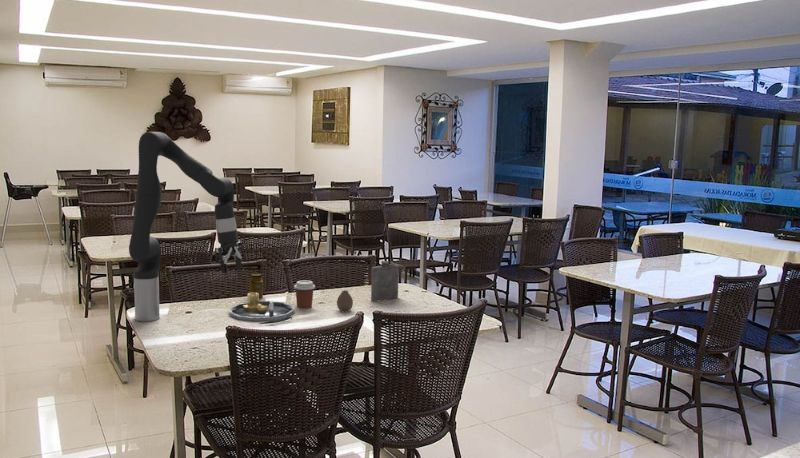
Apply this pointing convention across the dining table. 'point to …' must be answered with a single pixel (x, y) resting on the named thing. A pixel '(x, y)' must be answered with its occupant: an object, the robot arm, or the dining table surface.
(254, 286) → the condiment
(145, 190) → the robot arm
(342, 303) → the brown rounded lump
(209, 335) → the dining table surface
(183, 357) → the dining table surface
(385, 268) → the flask
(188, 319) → the dining table surface
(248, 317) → the tray
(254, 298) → the planet gear
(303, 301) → the coffee cup
